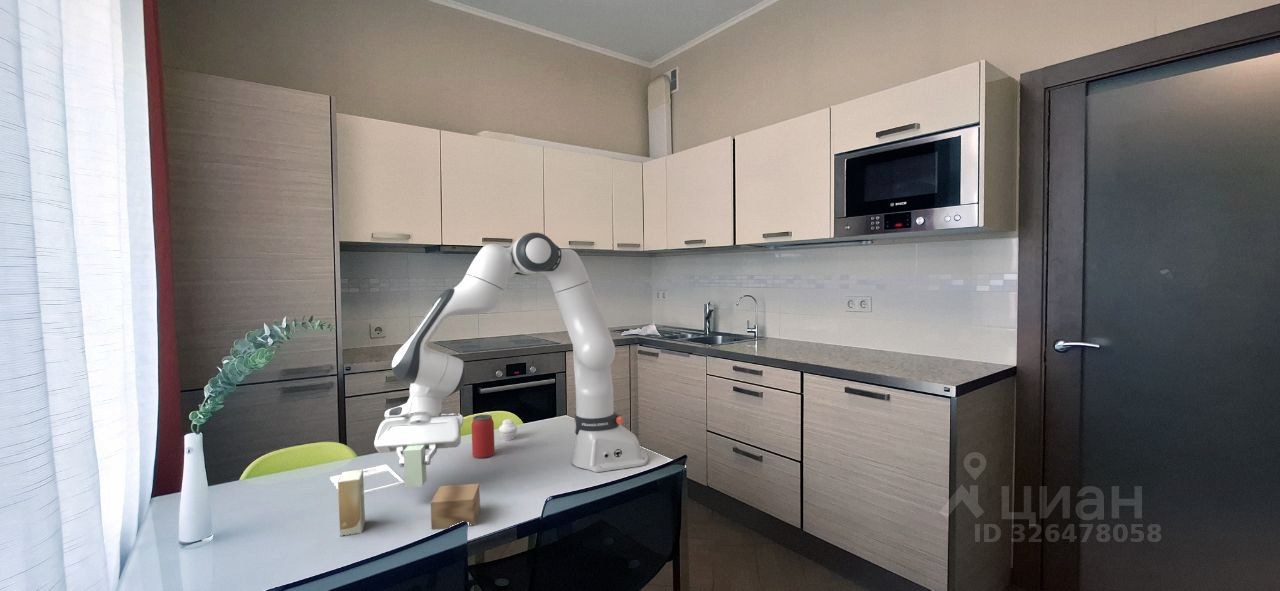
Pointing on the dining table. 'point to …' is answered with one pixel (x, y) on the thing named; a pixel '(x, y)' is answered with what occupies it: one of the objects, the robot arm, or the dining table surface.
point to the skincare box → (351, 502)
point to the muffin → (508, 429)
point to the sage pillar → (414, 466)
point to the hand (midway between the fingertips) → (414, 465)
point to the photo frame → (371, 472)
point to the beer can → (483, 436)
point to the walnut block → (455, 505)
